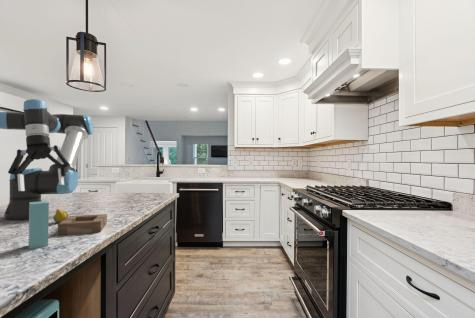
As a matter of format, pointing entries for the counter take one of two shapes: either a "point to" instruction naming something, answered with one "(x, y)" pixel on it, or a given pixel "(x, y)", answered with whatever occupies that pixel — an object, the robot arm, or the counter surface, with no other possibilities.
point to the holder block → (82, 224)
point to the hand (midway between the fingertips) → (42, 187)
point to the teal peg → (38, 224)
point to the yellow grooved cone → (60, 216)
